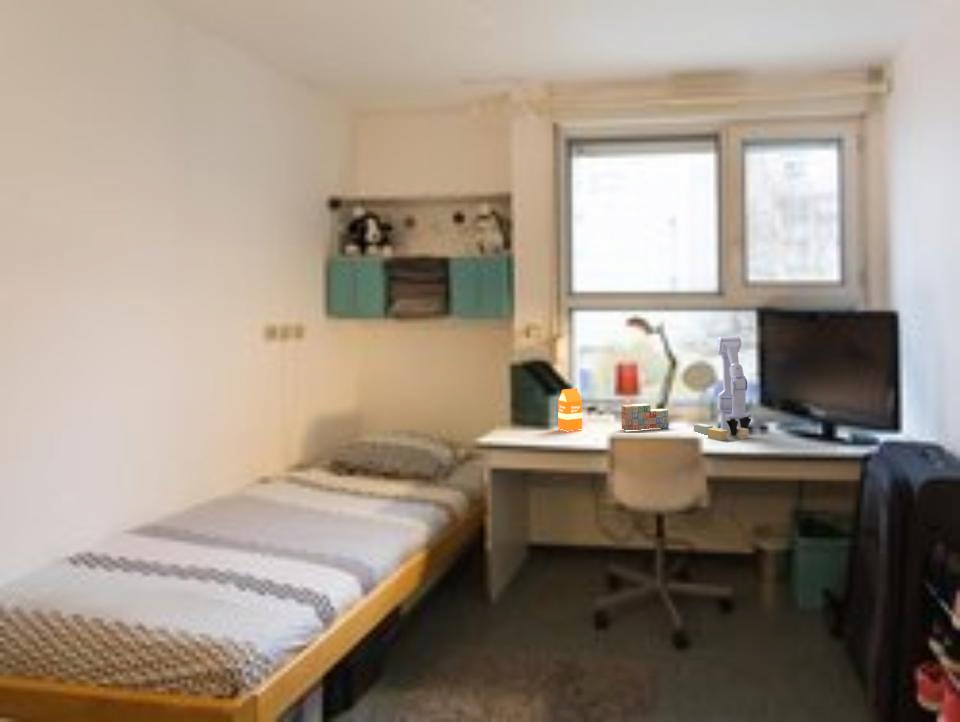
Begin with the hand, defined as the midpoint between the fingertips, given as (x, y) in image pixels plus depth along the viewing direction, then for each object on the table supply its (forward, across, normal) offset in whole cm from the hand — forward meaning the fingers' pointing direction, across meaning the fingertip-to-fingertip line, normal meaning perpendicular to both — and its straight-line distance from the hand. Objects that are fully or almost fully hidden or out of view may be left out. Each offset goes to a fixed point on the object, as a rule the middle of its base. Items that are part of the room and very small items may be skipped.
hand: (738, 434), depth 397 cm
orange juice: (+2, -49, +61) cm, 78 cm away
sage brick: (+1, -7, +15) cm, 17 cm away
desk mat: (+1, -5, +8) cm, 9 cm away
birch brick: (+1, 0, 0) cm, 1 cm away
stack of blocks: (+2, -20, +41) cm, 45 cm away
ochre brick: (+1, -10, +3) cm, 10 cm away
